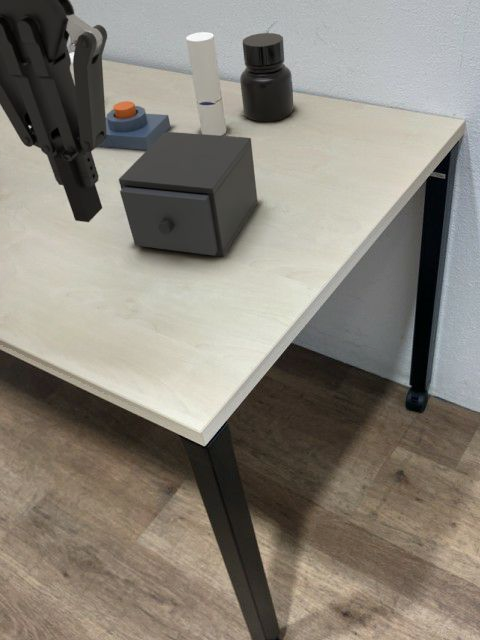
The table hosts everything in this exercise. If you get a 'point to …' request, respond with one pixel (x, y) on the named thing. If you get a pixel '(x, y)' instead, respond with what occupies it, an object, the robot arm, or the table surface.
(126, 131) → the button block
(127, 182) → the grey drawer cabinet
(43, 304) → the table surface
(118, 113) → the button
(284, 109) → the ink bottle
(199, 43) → the tube
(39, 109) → the robot arm
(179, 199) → the open drawer with knob
